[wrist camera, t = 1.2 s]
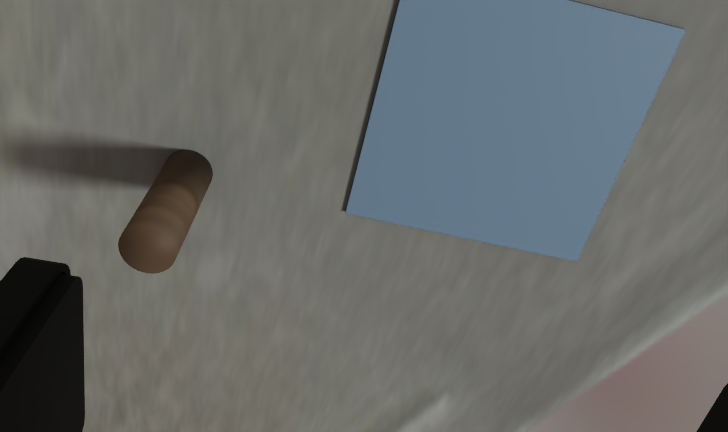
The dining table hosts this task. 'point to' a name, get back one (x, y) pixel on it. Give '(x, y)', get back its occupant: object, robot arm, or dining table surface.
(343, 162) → the dining table surface
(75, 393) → the robot arm
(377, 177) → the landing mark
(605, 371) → the dining table surface
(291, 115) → the dining table surface
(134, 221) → the post
